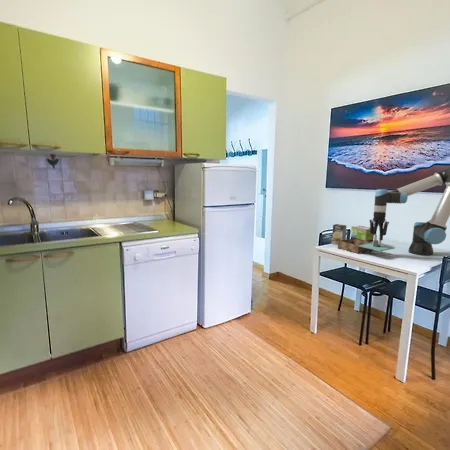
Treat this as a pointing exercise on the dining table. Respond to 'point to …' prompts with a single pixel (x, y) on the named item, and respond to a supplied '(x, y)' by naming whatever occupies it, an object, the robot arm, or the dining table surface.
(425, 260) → the dining table surface
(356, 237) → the tea box
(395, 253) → the dining table surface
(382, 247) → the cover plate
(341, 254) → the dining table surface
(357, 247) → the walnut box
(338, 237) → the coffee box
